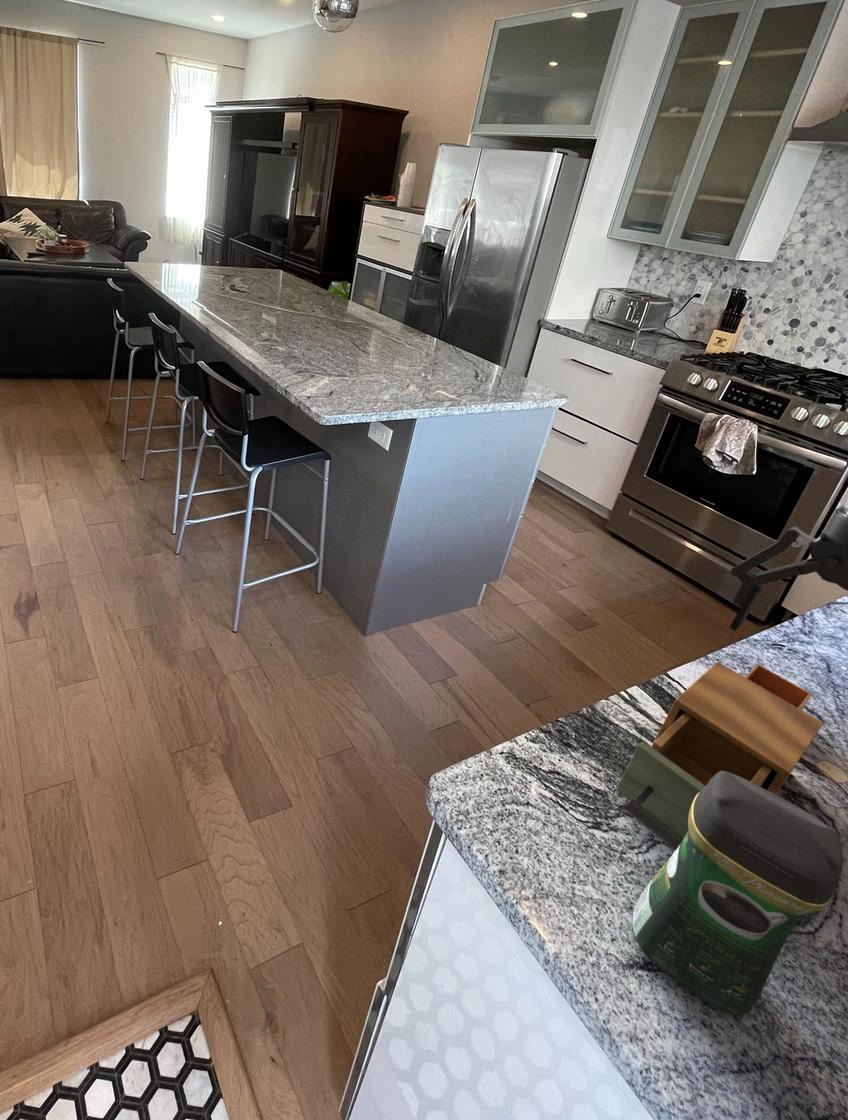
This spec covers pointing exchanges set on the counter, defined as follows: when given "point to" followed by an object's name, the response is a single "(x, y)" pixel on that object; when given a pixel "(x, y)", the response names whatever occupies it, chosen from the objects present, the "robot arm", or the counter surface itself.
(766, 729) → the cabinet
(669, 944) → the coffee jar
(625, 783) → the drawer
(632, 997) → the counter surface
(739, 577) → the robot arm
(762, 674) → the brown open box
